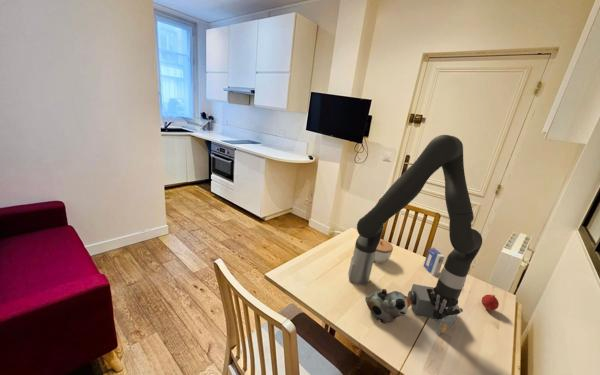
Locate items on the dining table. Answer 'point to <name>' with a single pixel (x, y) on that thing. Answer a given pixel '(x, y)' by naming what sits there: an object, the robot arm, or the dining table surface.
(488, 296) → the red bumpy ovoid
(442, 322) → the door
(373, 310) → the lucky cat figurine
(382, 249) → the lidded bowl
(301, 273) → the dining table surface
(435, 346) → the dining table surface
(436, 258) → the walkman
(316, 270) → the dining table surface
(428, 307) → the camera housing
